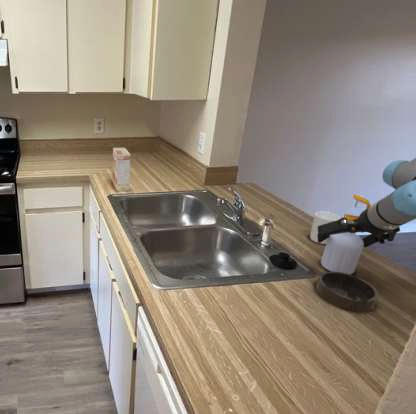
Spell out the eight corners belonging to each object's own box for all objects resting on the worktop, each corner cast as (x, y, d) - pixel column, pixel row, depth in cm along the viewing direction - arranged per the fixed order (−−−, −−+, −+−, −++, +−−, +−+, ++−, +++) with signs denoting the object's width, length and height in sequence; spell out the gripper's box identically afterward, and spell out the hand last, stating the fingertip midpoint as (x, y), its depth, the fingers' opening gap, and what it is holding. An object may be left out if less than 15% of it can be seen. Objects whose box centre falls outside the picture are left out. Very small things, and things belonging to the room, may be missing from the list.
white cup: (303, 235, 127) (309, 212, 123) (321, 234, 128) (328, 210, 124) (319, 246, 119) (327, 221, 115) (338, 244, 121) (346, 219, 117)
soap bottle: (319, 257, 113) (341, 189, 103) (352, 264, 108) (377, 194, 99) (320, 270, 106) (343, 198, 96) (355, 278, 101) (383, 205, 92)
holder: (366, 287, 97) (370, 278, 96) (380, 317, 86) (385, 306, 84) (312, 276, 102) (315, 267, 101) (319, 303, 91) (323, 293, 90)
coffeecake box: (112, 181, 186) (112, 147, 178) (124, 181, 186) (125, 147, 178) (116, 191, 172) (116, 154, 164) (129, 190, 173) (131, 154, 165)
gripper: (331, 225, 88) (299, 247, 107) (441, 236, 82) (386, 256, 102) (329, 200, 90) (298, 225, 110) (435, 208, 85) (383, 233, 104)
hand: (341, 240), depth 106 cm, fingers open, 12 cm apart
